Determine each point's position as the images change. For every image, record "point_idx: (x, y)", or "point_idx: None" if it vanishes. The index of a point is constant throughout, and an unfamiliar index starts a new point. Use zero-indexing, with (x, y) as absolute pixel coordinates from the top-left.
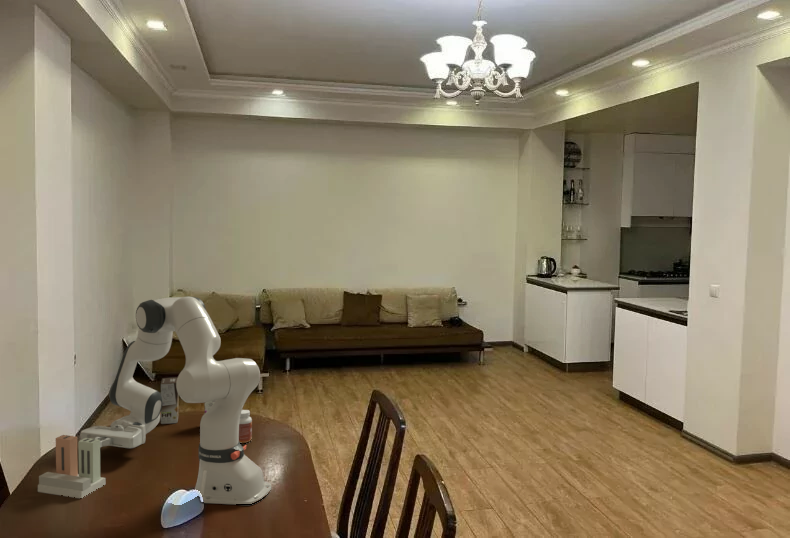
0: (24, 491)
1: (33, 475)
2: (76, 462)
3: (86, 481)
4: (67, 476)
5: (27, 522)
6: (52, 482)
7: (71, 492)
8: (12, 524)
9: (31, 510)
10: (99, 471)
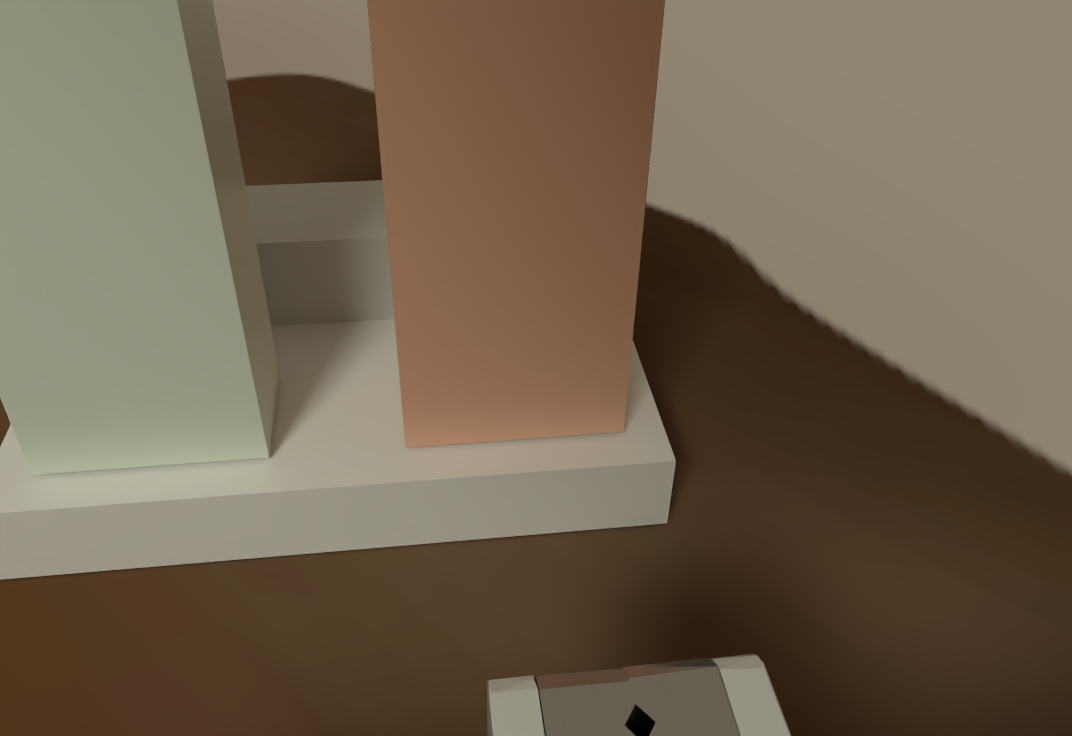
0: (701, 273)
1: (1036, 460)
2: (392, 282)
3: None
4: (321, 223)
5: (268, 114)
6: None
7: None
8: (336, 94)
9: (366, 168)
10: (2, 379)
